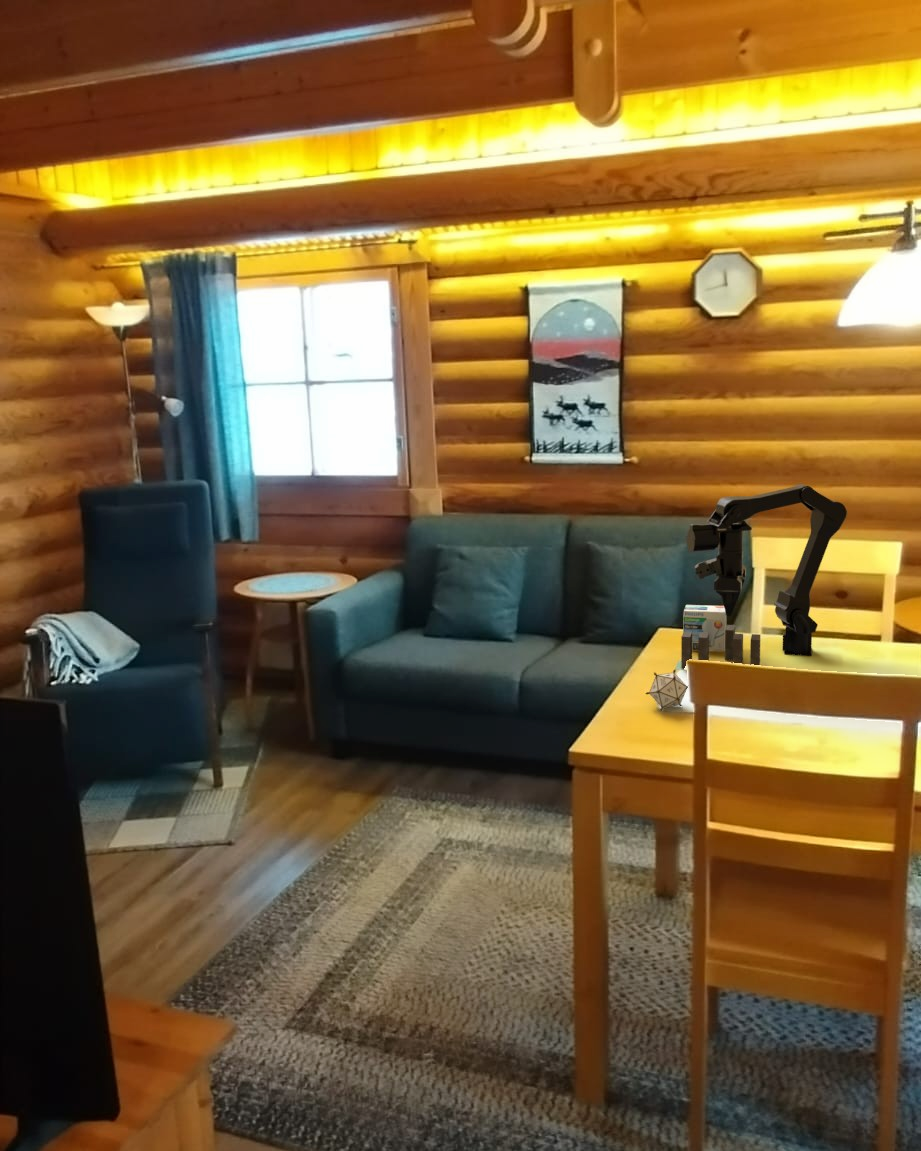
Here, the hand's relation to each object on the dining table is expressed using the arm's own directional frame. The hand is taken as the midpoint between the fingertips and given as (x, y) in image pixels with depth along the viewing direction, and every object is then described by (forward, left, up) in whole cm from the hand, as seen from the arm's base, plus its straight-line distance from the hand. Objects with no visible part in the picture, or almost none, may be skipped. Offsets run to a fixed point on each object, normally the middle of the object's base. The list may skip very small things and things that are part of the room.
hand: (730, 611), depth 251 cm
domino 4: (-3, +9, -12) cm, 15 cm away
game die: (+10, +39, -12) cm, 42 cm away
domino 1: (+9, +9, -12) cm, 18 cm away
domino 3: (0, 0, -12) cm, 12 cm away
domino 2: (+5, +9, -12) cm, 16 cm away
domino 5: (-7, +9, -12) cm, 16 cm away
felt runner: (+1, +9, -12) cm, 15 cm away
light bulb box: (+7, -8, -12) cm, 16 cm away
